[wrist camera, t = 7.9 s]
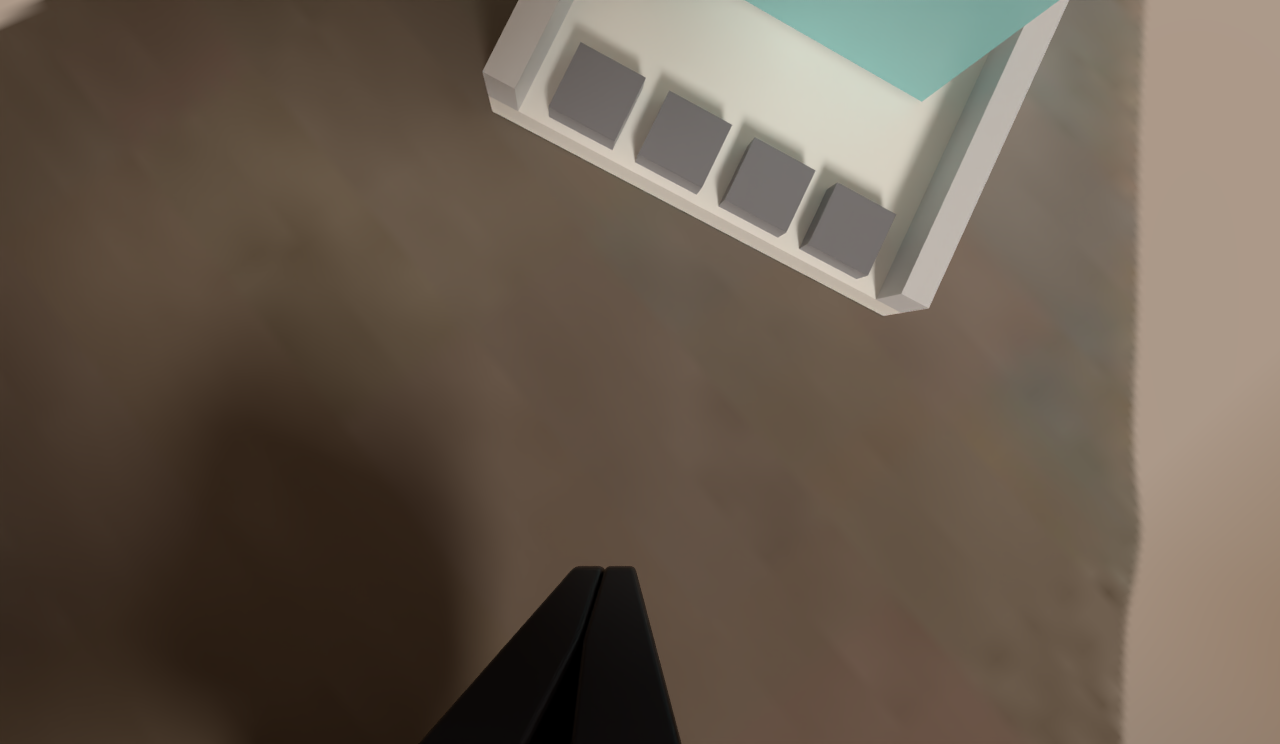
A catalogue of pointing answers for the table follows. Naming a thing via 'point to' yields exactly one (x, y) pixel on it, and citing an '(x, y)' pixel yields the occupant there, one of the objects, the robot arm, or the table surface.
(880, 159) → the white slotted tray
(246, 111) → the table surface
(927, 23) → the teal and cream panel
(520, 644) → the robot arm
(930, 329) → the table surface
